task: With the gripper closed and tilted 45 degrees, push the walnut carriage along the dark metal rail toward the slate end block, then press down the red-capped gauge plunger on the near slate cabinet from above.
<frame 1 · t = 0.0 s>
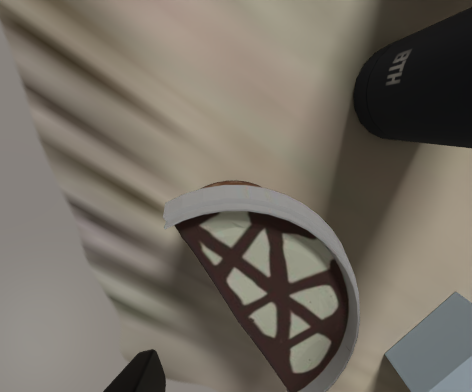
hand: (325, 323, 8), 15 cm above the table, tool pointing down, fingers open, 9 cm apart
food container: (263, 221, 23), on the table
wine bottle: (396, 93, 21), on the table
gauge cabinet: (454, 354, 26), on the table
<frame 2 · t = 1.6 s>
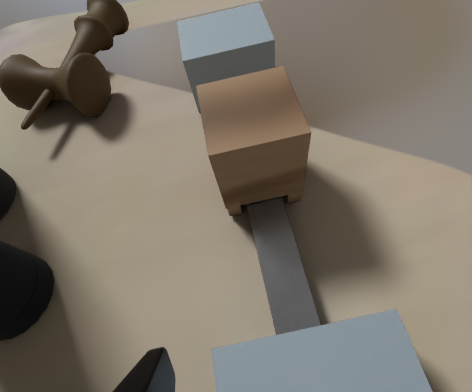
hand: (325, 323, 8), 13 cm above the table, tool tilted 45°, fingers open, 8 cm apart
kendama: (87, 83, 36), on the table
end block: (231, 83, 32), on the table
carriage: (253, 148, 22), point 4 cm above the table, slide at 0.0 cm
rail: (260, 194, 25), on the table
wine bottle: (16, 296, 24), on the table
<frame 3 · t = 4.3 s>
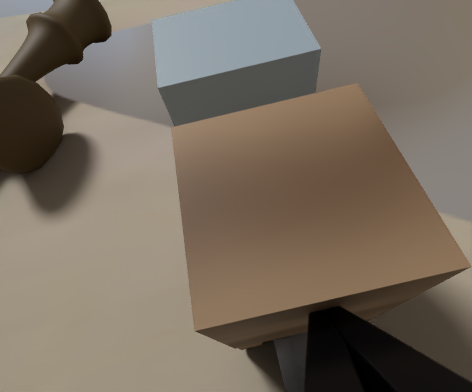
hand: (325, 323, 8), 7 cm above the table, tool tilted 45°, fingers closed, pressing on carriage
kendama: (39, 112, 25), on the table
end block: (240, 115, 21), on the table
carriage: (287, 240, 11), point 4 cm above the table, slide at 1.2 cm, touching gripper
rail: (301, 328, 14), on the table
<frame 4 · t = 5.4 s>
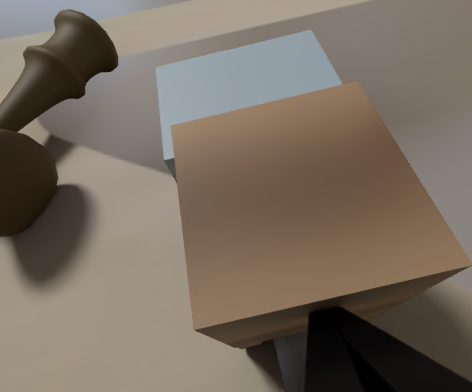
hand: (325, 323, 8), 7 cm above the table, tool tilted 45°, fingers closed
kendama: (35, 153, 22), on the table
end block: (255, 165, 19), on the table
carriage: (287, 239, 11), point 4 cm above the table, slide at 5.7 cm
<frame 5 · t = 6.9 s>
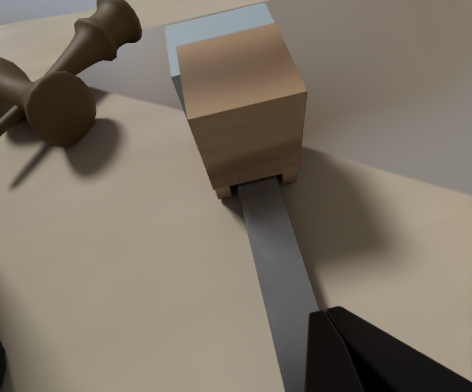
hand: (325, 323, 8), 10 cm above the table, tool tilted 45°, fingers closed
kendama: (78, 98, 30), on the table
end block: (232, 100, 27), on the table
carriage: (243, 120, 20), point 4 cm above the table, slide at 5.7 cm
rail: (272, 244, 20), on the table
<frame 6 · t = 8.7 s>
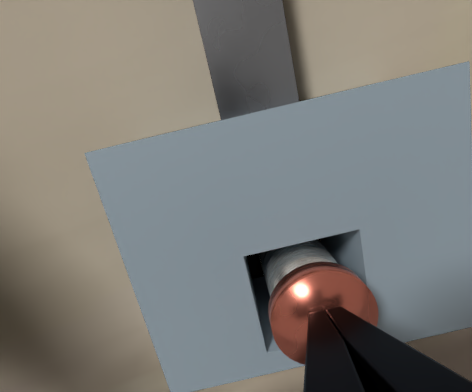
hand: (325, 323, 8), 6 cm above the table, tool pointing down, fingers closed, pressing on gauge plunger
gauge plunger: (300, 274, 10), point 3 cm above the table, slide at -1.3 cm, touching gripper
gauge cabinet: (274, 205, 13), on the table
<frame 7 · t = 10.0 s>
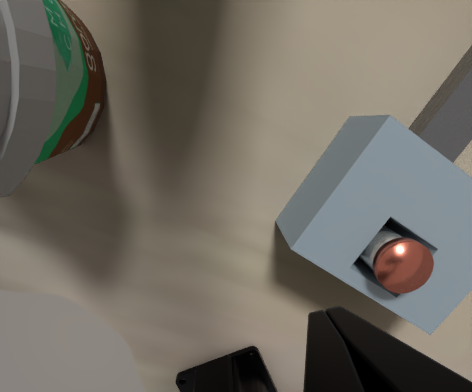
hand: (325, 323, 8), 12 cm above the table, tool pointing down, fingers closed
gauge plunger: (380, 247, 17), point 3 cm above the table, slide at -1.5 cm
food container: (59, 45, 17), on the table
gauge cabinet: (370, 210, 20), on the table
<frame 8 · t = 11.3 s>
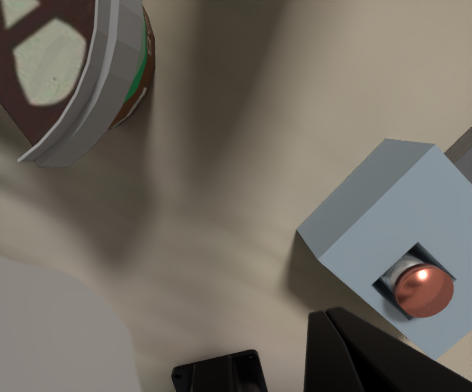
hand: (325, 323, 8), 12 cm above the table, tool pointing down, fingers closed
gauge plunger: (399, 270, 18), point 3 cm above the table, slide at -1.5 cm
food container: (114, 23, 17), on the table
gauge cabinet: (389, 232, 20), on the table
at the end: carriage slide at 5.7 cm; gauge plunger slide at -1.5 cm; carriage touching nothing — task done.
